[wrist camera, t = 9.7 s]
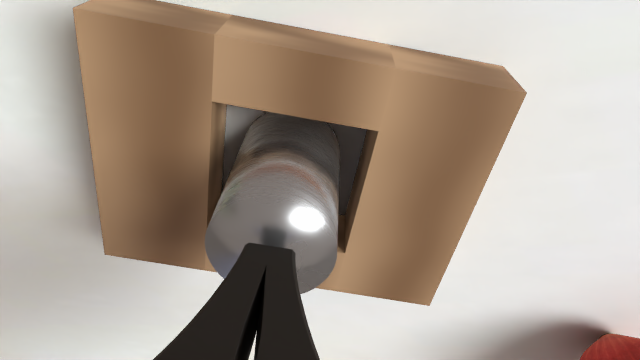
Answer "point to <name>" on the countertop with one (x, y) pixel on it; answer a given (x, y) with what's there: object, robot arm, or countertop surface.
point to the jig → (295, 100)
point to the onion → (613, 348)
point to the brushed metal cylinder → (281, 197)
